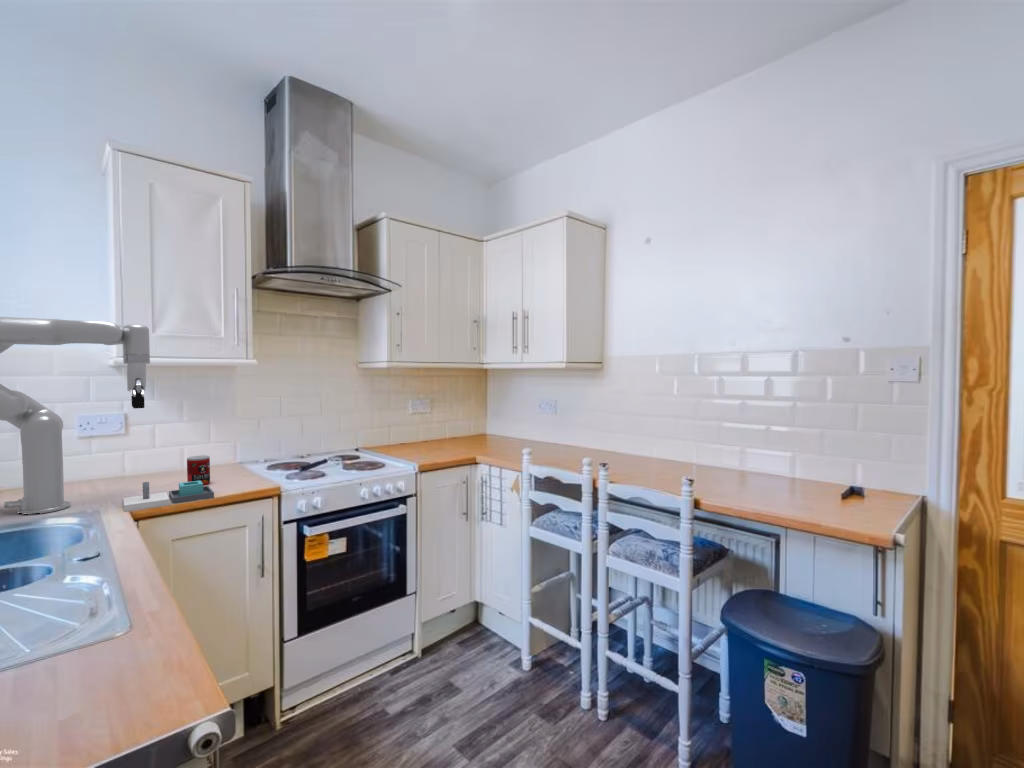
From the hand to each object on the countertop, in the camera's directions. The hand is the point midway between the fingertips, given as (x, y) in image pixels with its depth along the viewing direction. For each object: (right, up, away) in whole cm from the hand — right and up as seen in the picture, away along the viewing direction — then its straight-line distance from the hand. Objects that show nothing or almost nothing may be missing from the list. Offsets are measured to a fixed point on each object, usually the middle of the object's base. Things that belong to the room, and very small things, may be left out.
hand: (138, 407), depth 175 cm
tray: (+19, -32, 0) cm, 38 cm away
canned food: (+9, -32, +19) cm, 38 cm away
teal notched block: (+19, -32, 0) cm, 37 cm away
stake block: (+10, -33, -9) cm, 35 cm away
